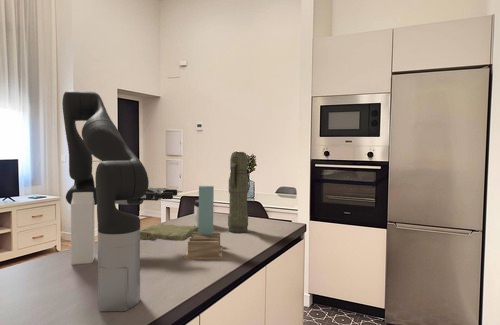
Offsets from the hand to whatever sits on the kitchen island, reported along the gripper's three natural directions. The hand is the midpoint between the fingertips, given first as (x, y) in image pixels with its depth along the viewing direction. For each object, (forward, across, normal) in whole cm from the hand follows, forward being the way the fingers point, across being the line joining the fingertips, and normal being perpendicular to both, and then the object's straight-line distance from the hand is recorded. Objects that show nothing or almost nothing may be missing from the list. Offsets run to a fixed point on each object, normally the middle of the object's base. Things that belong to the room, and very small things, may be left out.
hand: (175, 194), depth 120 cm
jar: (+7, +39, +20) cm, 45 cm away
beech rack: (+11, -4, +20) cm, 23 cm away
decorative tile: (-6, +21, +21) cm, 30 cm away
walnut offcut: (+11, -4, +19) cm, 22 cm away
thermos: (+23, +29, +20) cm, 42 cm away
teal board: (+11, 0, +19) cm, 22 cm away
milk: (-27, -11, +20) cm, 36 cm away
